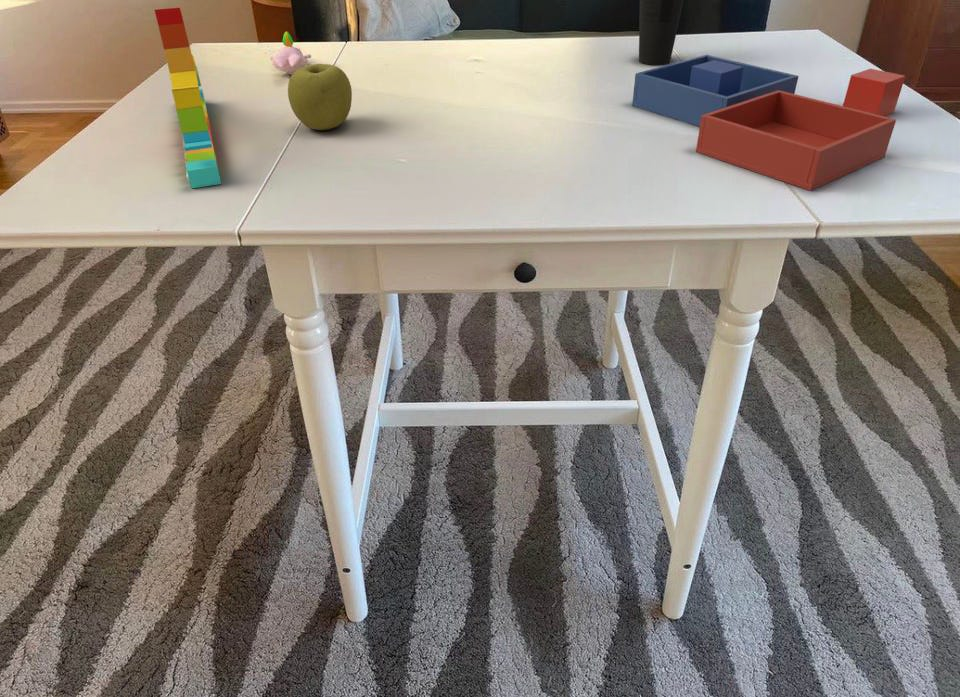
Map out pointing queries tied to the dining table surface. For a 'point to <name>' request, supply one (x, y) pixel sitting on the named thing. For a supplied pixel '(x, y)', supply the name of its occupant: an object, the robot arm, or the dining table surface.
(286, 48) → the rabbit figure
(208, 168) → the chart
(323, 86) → the apple
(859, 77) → the red block
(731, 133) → the red bin
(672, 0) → the drinking cup
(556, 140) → the dining table surface
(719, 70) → the blue block
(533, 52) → the dining table surface
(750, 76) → the blue bin
